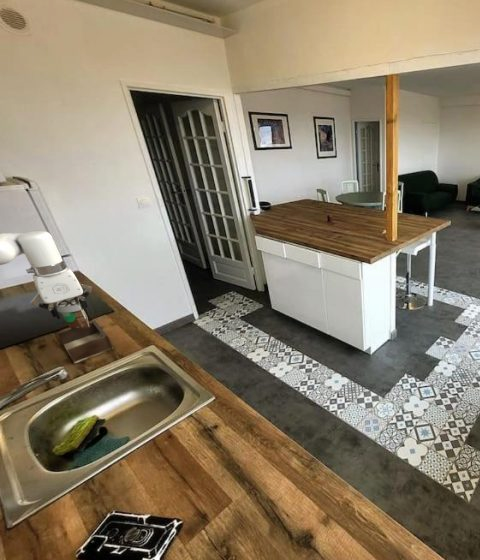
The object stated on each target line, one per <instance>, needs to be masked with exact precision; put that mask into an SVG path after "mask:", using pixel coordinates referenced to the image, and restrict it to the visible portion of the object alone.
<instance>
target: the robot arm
mask: <svg viewBox="0 0 480 560" xmlns="http://www.w3.org/2000/svg"><path fill="white" fill-rule="evenodd" d="M20 255H25V257H26V259H27V261H28V263H29V265H30V268H27V269H25V271H26V273H27V274H33V275H32V278H33V283H34V285H35V289H36V291H37V294H35V296H34V297H33V298H32V299H31V301H30V302H29V304H30V305H31V306H35V307H38V308H41V309H45V310H48V311H50V313H51V316H52V317H53V318H56V319H57V320H60V319H61V316H60V314H59V312H58V311H57V310H56V307H55V306H54V305H55V304H56V302H58V301H62V300H66V299H69V298H73V297H78V298H79V302H80V304H81V307H82V309H83V310H84V311H85V312H87V310H88V309H87V308H89V306H88V304H87V301H86V299H87V298H88V297H89V295H90V293H91V292H92V290H93V287H92V286H91V285H89V284H85V283H81V282H79V280H78V278H77V276H76V274H75V273H74V272H73V271H72V269H71V268H70V267H68V266H66V264H65V262H64V260H63V258H62V255H61V254H60V251H59V249H58V247H57V244H56V242H55V240H54V238H53V236H52V234H51V233H50V232H48V231H47V230H46V231H45V230H36V231H35V230H33V231H28V232H5V233H4V232H2V233H0V266H2V265H6V264H7V265H8V264H9V263H11V262H12V261H14V260H15V259H16V258H17V257H19V256H20ZM84 289H85V290H84ZM40 300H41V301H42V302H40Z"/></svg>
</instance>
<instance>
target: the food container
mask: <svg viewBox="0 0 480 560" xmlns="http://www.w3.org/2000/svg"><path fill="white" fill-rule="evenodd" d="M54 305H55V306H54V307H55V309H56V310H57V312H58V313H60V315H61V316H62V317H63V319H64V320H65V322H66V323H67V325H68V326H69V329H85V328H89V318H88V315H87V313H86V311H84V310H83V309H82V307H81V304H80V302H79V298H78V297H73V298H69V299H66V300H62V301H58V302H55V304H54Z"/></svg>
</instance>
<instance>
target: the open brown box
mask: <svg viewBox="0 0 480 560" xmlns="http://www.w3.org/2000/svg"><path fill="white" fill-rule="evenodd" d="M88 323H89V328H85V329H71V328H67V329H65V330H61V331H59V332H57V336H58V337H59V339H60V341H61V343H62V345H63V347H64V349H65V350H66V352H67V354H68V355H69V357H70V359H71V361H72V362H73V364H77V363H80V362H83V361H85V360H87V359H90V358H93V357H96V356H98V355H100V354H103V353H106V352H108V351H112V350H113V349H114V347H113V345H112V342H111V340H110V338H109V335H108V334H107V333H106V332H105V331H104V329H103V328H102V327H101V326H100V324H98V322H97V321H96V320H92V321H90V322H89V321H88Z"/></svg>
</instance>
